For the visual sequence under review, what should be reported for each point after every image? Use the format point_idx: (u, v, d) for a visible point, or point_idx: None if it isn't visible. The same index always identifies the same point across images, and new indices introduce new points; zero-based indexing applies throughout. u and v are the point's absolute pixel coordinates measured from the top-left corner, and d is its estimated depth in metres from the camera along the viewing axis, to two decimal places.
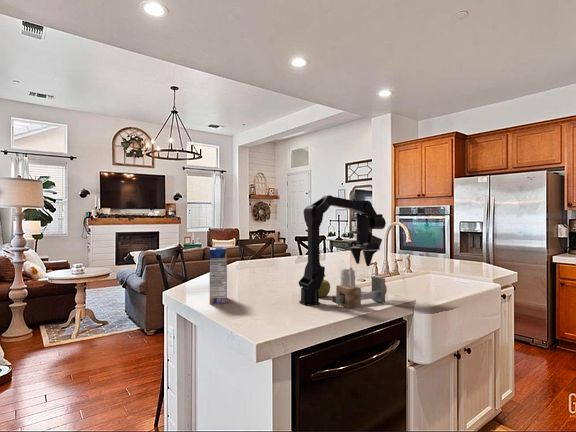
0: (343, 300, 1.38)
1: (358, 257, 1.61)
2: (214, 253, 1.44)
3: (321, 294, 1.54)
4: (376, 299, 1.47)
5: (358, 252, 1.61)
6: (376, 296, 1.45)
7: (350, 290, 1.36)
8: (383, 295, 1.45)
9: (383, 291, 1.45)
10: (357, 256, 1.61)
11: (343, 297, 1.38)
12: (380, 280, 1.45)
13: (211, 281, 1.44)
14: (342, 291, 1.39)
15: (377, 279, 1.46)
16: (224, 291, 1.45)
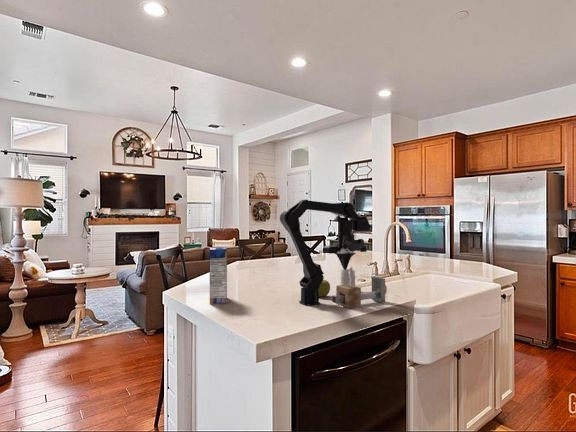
0: (343, 300, 1.38)
1: None
2: (214, 253, 1.44)
3: (321, 294, 1.54)
4: (376, 299, 1.47)
5: (346, 257, 1.50)
6: (376, 296, 1.45)
7: (350, 290, 1.36)
8: (383, 295, 1.45)
9: (383, 291, 1.45)
10: None
11: (343, 297, 1.38)
12: (380, 280, 1.45)
13: (211, 281, 1.44)
14: (342, 291, 1.39)
15: (377, 279, 1.46)
16: (224, 291, 1.45)
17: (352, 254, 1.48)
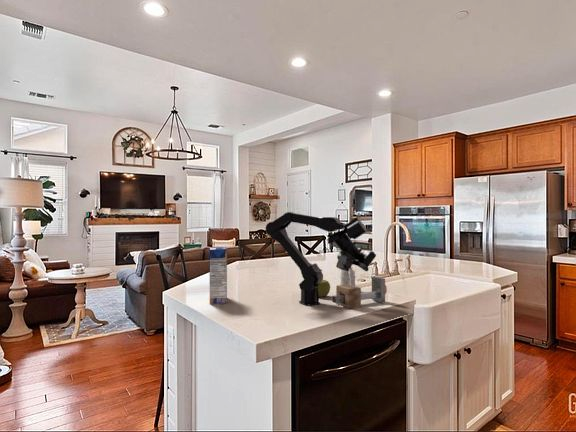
0: (343, 300, 1.38)
1: None
2: (214, 253, 1.44)
3: (321, 294, 1.54)
4: (376, 299, 1.47)
5: None
6: (376, 296, 1.45)
7: (350, 290, 1.36)
8: (383, 295, 1.45)
9: (383, 291, 1.45)
10: None
11: (343, 297, 1.38)
12: (380, 280, 1.45)
13: (211, 281, 1.44)
14: (342, 291, 1.39)
15: (377, 279, 1.46)
16: (224, 291, 1.45)
17: None
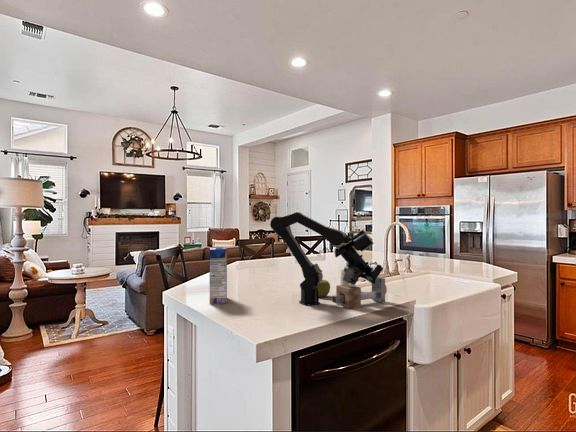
0: (343, 300, 1.38)
1: None
2: (214, 253, 1.44)
3: (321, 294, 1.54)
4: (376, 299, 1.47)
5: None
6: (376, 296, 1.45)
7: (350, 290, 1.36)
8: (383, 295, 1.45)
9: (383, 291, 1.45)
10: None
11: (343, 297, 1.38)
12: (380, 280, 1.45)
13: (211, 281, 1.44)
14: (342, 291, 1.39)
15: (377, 279, 1.46)
16: (224, 291, 1.45)
17: (364, 278, 1.41)
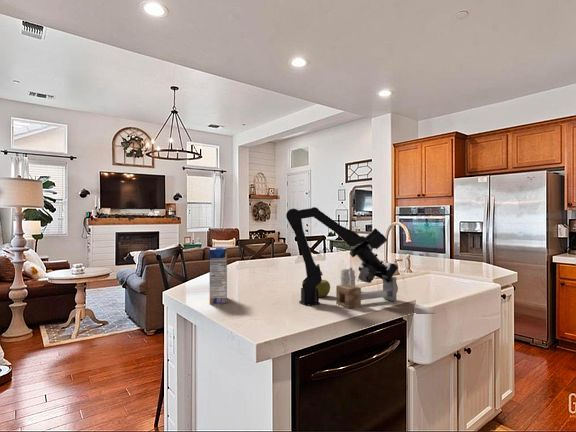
0: None
1: None
2: (214, 253, 1.44)
3: (321, 294, 1.54)
4: (387, 298, 1.50)
5: None
6: (387, 295, 1.48)
7: (350, 290, 1.36)
8: (394, 294, 1.47)
9: (394, 290, 1.47)
10: None
11: None
12: (391, 279, 1.47)
13: (211, 281, 1.44)
14: (342, 291, 1.39)
15: None
16: (224, 291, 1.45)
17: (379, 277, 1.44)
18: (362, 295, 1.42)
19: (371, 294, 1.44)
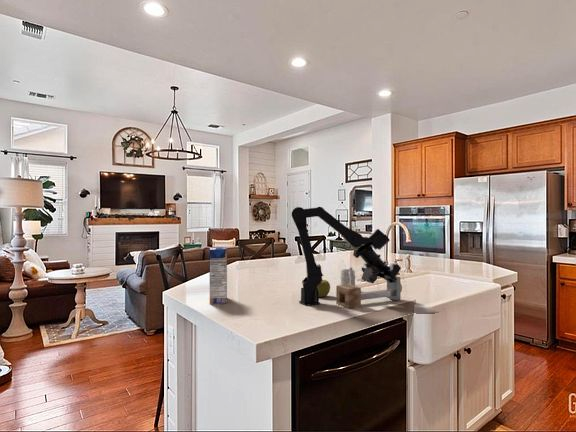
0: None
1: None
2: (214, 253, 1.44)
3: (321, 294, 1.54)
4: (391, 297, 1.50)
5: None
6: (392, 294, 1.49)
7: (350, 290, 1.36)
8: (398, 293, 1.48)
9: (398, 289, 1.48)
10: None
11: None
12: (395, 278, 1.48)
13: (211, 281, 1.44)
14: (342, 291, 1.39)
15: None
16: (224, 291, 1.45)
17: (382, 277, 1.46)
18: (366, 294, 1.43)
19: (375, 293, 1.45)
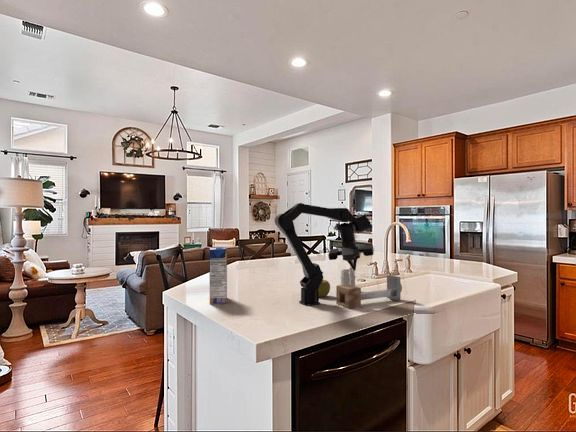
0: None
1: (353, 264, 1.53)
2: (214, 253, 1.44)
3: (321, 294, 1.54)
4: (391, 297, 1.50)
5: (353, 260, 1.52)
6: (392, 294, 1.49)
7: (350, 290, 1.36)
8: (398, 293, 1.48)
9: (398, 289, 1.48)
10: (353, 263, 1.53)
11: None
12: (395, 278, 1.48)
13: (211, 281, 1.44)
14: (342, 291, 1.39)
15: (392, 278, 1.50)
16: (224, 291, 1.45)
17: (355, 258, 1.49)
18: (366, 294, 1.43)
19: (375, 293, 1.45)
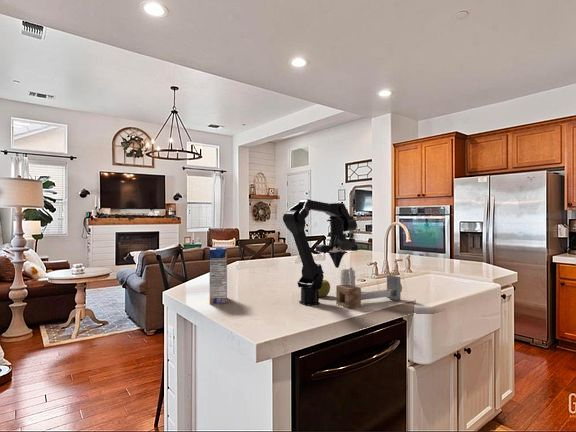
0: None
1: None
2: (214, 253, 1.44)
3: (321, 294, 1.54)
4: (391, 297, 1.50)
5: (338, 256, 1.55)
6: (392, 294, 1.49)
7: (350, 290, 1.36)
8: (398, 293, 1.48)
9: (398, 289, 1.48)
10: None
11: None
12: (395, 278, 1.48)
13: (211, 281, 1.44)
14: (342, 291, 1.39)
15: (392, 278, 1.50)
16: (224, 291, 1.45)
17: (344, 253, 1.54)
18: (366, 294, 1.43)
19: (375, 293, 1.45)
